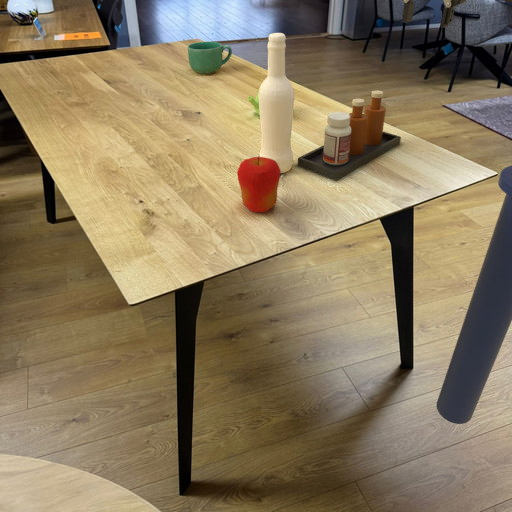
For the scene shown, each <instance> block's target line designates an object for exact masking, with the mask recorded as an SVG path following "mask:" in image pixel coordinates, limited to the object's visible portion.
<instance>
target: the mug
mask: <svg viewBox="0 0 512 512" xmlns="http://www.w3.org/2000/svg"><path fill="white" fill-rule="evenodd" d="M226 49H228V53H227V56H226V57H225V58H224V59H223V53H224V51H225V50H226ZM232 50H233V49H232V48H231V46H230V45H229V44H224V45H222V44H221V43H220V42H218V41H198V42H193V43H190V44H188V45H187V57H188V62H189V66H190V69H192V71H194V72H196V73H197V74H199V75H212V74H215V73H216V72H218V71H219V70H220V69H221V68H222V66H223V65H225V64H226V63H227V62H228V61H229V60H230V59H231V57H232V54H233V51H232Z"/></svg>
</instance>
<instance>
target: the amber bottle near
mask: <svg viewBox="0 0 512 512" xmlns="http://www.w3.org/2000/svg"><path fill="white" fill-rule="evenodd" d="M365 103H366V102H365V99H363V98H353V99H352V102H351V104H352V111H351V112H350V113H348V114H349V115H350V124H349V126H350V127H351V139H350V149H349V155H361V154H362V153H363V152H364V144H365V136H366V128H367V120H368V116H367V115H365V114H364V113H363V111H364V106H365Z"/></svg>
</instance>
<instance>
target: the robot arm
mask: <svg viewBox="0 0 512 512" xmlns="http://www.w3.org/2000/svg"><path fill="white" fill-rule="evenodd" d="M442 1H443V4H444V6H445V7H443V12H442V16H441V22H440V28H443V29H444V28H445V29H446V28H448V27H449V25H451V23H452V22H453V18H454V14H455V8H456V7H457V6H459V5H462V4H465V3H466V2H467V0H442ZM402 2H403V8H402V9H403V10H402V15H401V16H402V20H403V23H406V24H408V23H411V22H412V21H413V16H414V14H413V13H414V9H415V1H414V0H402Z"/></svg>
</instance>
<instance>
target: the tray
mask: <svg viewBox="0 0 512 512" xmlns="http://www.w3.org/2000/svg"><path fill="white" fill-rule="evenodd" d="M401 140H402V136H401V135H397V134H393V133H389V132H387V131H383V133H382V140H381V144H379V145H375V146H370V145H365V144H364V152H363V153H362V154H361V155H349V159H348V162H347V163H345V164H343V165H330V164H327V163H325V162H324V160H323V153H324V144H323V145H321V146H319V147H316V148H314V149H313V150H311V151H309V152H307V153H305V154H302V155H301V156H299V157H297V167H299V168H303V169H305V170H308V171H310V172H311V173H315V174H317V175H321V176H322V177H326V178H328V179H330V180H333V181H338V180H340V179H342V178H343V177H345V176H347V175H348V174H350V173H352V172H355V170H358V169H359V168H361V167H363V166H365V165H366V164H368V163H370V162H371V161H373V160H375V159H377V158H379V157H380V156H382V155H384V154H385V153H387V152H389V151H390V150H391V151H392V149H394V148H396V147H398V146H399V145H401Z"/></svg>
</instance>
